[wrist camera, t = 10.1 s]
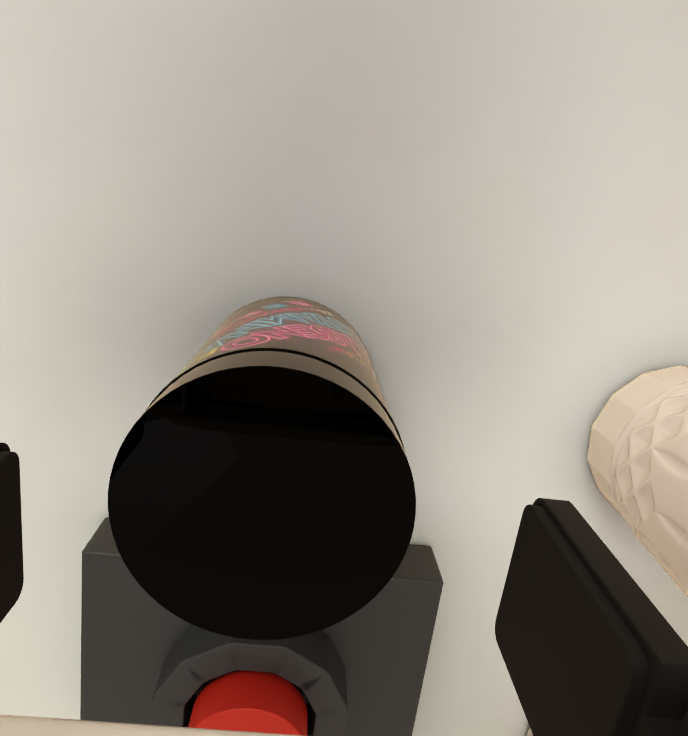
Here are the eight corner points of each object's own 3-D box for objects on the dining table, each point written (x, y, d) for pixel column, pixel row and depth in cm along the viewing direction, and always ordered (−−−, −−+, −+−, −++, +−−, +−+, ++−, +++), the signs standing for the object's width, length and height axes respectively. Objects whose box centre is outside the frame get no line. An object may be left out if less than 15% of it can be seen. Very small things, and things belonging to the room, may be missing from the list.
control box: (105, 516, 24) (57, 585, 19) (431, 545, 25) (455, 616, 20) (100, 723, 26) (58, 824, 22) (393, 741, 28) (407, 840, 23)
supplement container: (406, 391, 23) (476, 535, 13) (275, 485, 24) (243, 689, 14) (302, 256, 21) (289, 297, 11) (165, 362, 22) (37, 490, 12)
